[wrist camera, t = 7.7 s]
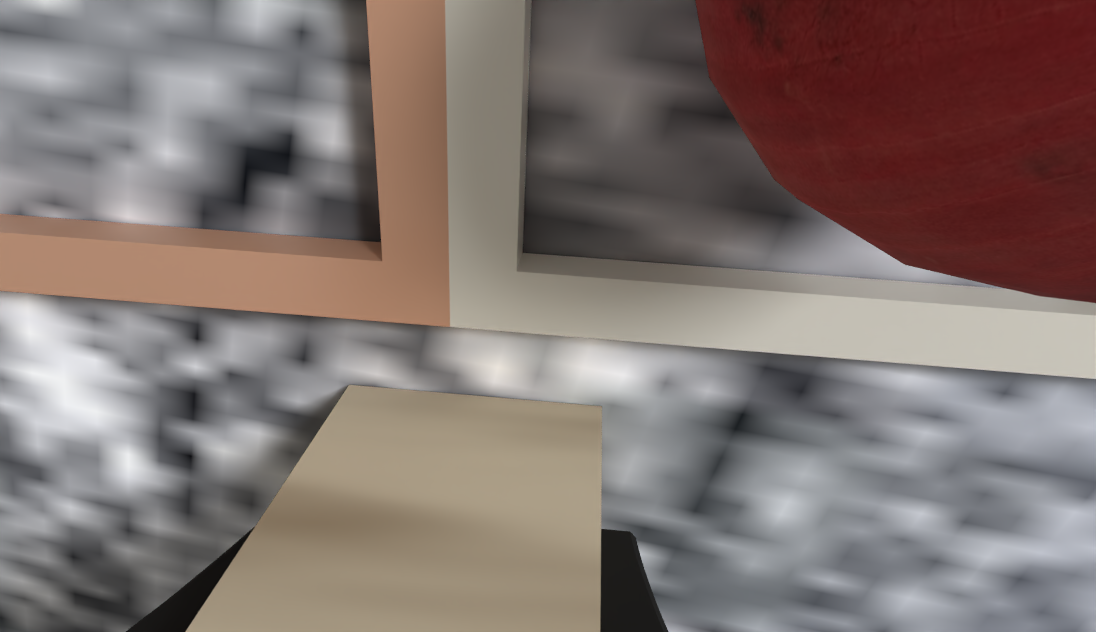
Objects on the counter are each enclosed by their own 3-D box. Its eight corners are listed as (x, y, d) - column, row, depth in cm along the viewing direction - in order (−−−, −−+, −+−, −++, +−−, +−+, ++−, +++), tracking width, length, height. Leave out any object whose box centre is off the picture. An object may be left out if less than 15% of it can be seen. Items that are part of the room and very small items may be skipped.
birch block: (582, 591, 14) (568, 984, 8) (366, 569, 14) (212, 939, 8) (601, 405, 12) (599, 761, 6) (349, 384, 12) (133, 710, 6)
